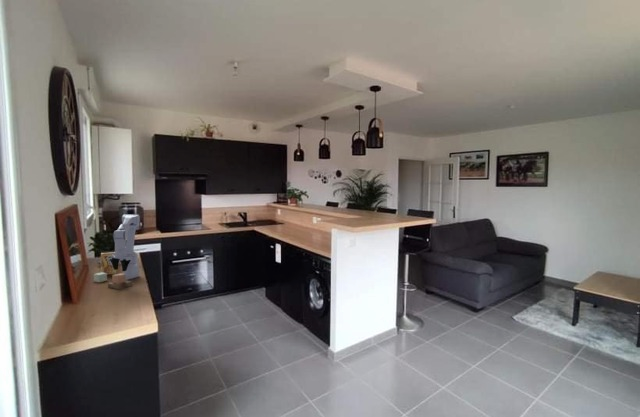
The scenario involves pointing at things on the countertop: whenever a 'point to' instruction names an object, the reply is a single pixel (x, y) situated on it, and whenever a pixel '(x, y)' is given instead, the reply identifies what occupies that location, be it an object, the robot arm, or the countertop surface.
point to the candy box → (107, 263)
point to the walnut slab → (120, 285)
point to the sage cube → (100, 277)
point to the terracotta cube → (118, 278)
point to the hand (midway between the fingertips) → (120, 270)
